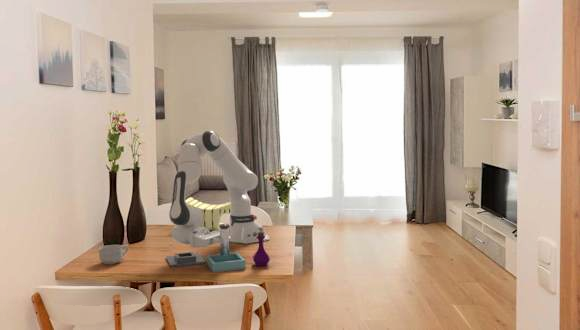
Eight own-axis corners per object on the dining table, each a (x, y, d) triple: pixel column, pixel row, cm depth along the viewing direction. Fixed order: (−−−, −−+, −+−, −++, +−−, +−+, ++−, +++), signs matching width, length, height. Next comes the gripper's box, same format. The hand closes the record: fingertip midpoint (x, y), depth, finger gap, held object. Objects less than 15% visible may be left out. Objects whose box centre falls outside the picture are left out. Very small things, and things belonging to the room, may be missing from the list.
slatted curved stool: (183, 231, 348) (183, 201, 347) (191, 225, 364) (190, 197, 362) (233, 232, 345) (233, 201, 343) (239, 226, 361) (238, 197, 359)
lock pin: (228, 253, 275) (227, 223, 274) (230, 255, 271) (230, 225, 269) (219, 254, 274) (218, 224, 272) (221, 256, 269) (220, 226, 268)
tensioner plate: (198, 255, 293) (198, 249, 293) (205, 263, 278) (204, 257, 278) (166, 258, 288) (165, 252, 287) (170, 267, 273) (170, 260, 272)
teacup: (101, 267, 274) (100, 250, 273) (97, 261, 283) (96, 245, 282) (131, 263, 280) (131, 246, 279) (126, 258, 290) (126, 242, 289)
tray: (237, 260, 282) (237, 252, 282) (245, 268, 268) (245, 260, 268) (206, 263, 278) (206, 255, 277) (213, 272, 263) (212, 263, 263)
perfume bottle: (253, 263, 278) (252, 225, 276) (269, 262, 278) (268, 225, 277) (253, 267, 270) (252, 228, 268) (269, 267, 271) (269, 228, 269)
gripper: (215, 238, 287) (238, 242, 280) (188, 247, 269) (213, 251, 263) (215, 226, 286) (238, 229, 280) (188, 234, 269) (212, 237, 262)
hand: (226, 240), depth 271 cm, fingers closed on lock pin, 4 cm apart
